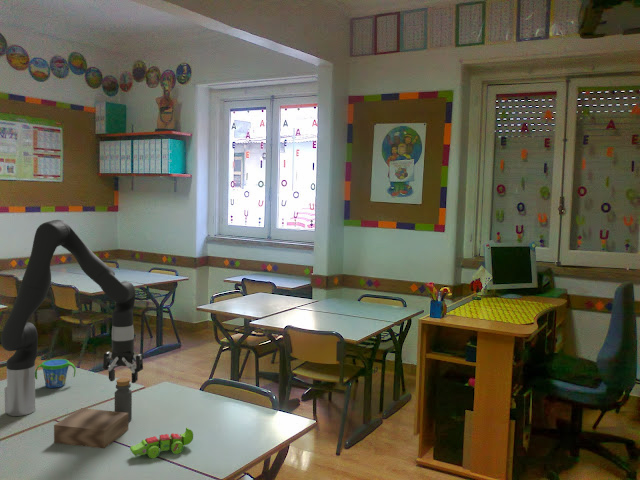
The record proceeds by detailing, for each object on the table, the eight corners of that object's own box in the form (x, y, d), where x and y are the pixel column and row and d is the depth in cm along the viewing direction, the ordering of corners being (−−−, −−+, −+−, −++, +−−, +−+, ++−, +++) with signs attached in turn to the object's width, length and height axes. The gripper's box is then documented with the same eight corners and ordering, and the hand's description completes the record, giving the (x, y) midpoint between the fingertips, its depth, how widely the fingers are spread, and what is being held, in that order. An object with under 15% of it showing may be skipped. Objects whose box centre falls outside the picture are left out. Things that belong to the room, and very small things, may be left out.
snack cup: (78, 380, 240) (78, 358, 239) (72, 389, 230) (72, 365, 229) (39, 382, 237) (39, 359, 236) (31, 390, 227) (31, 366, 226)
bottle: (126, 424, 196) (126, 383, 195) (111, 422, 198) (111, 381, 196) (134, 417, 202) (134, 378, 201) (120, 416, 203) (120, 376, 202)
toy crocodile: (132, 463, 169) (132, 443, 168) (128, 453, 174) (128, 435, 174) (195, 450, 178) (196, 432, 178) (190, 442, 184) (190, 424, 183)
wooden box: (54, 442, 180) (53, 424, 180) (81, 424, 195) (81, 408, 195) (104, 448, 177) (104, 430, 177) (128, 429, 192) (128, 412, 192)
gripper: (98, 338, 195) (99, 383, 196) (135, 341, 193) (136, 386, 194) (110, 333, 202) (110, 377, 204) (146, 336, 200) (146, 379, 201)
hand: (123, 381), depth 199 cm, fingers open, 8 cm apart
